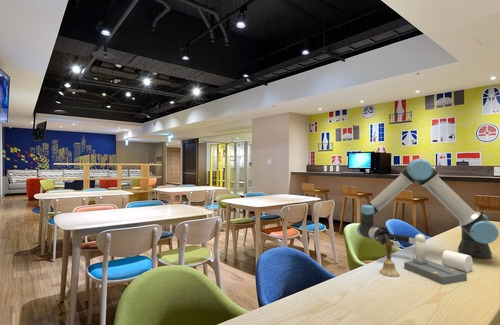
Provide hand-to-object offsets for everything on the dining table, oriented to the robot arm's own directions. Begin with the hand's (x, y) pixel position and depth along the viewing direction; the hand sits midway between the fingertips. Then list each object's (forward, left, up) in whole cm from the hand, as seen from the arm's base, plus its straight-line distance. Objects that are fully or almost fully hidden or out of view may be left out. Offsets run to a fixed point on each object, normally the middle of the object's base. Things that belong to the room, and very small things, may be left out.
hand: (409, 244), depth 144 cm
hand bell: (+19, +6, -11) cm, 22 cm away
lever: (0, +6, -7) cm, 9 cm away
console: (0, +13, -10) cm, 16 cm away
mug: (-19, +11, -11) cm, 25 cm away
